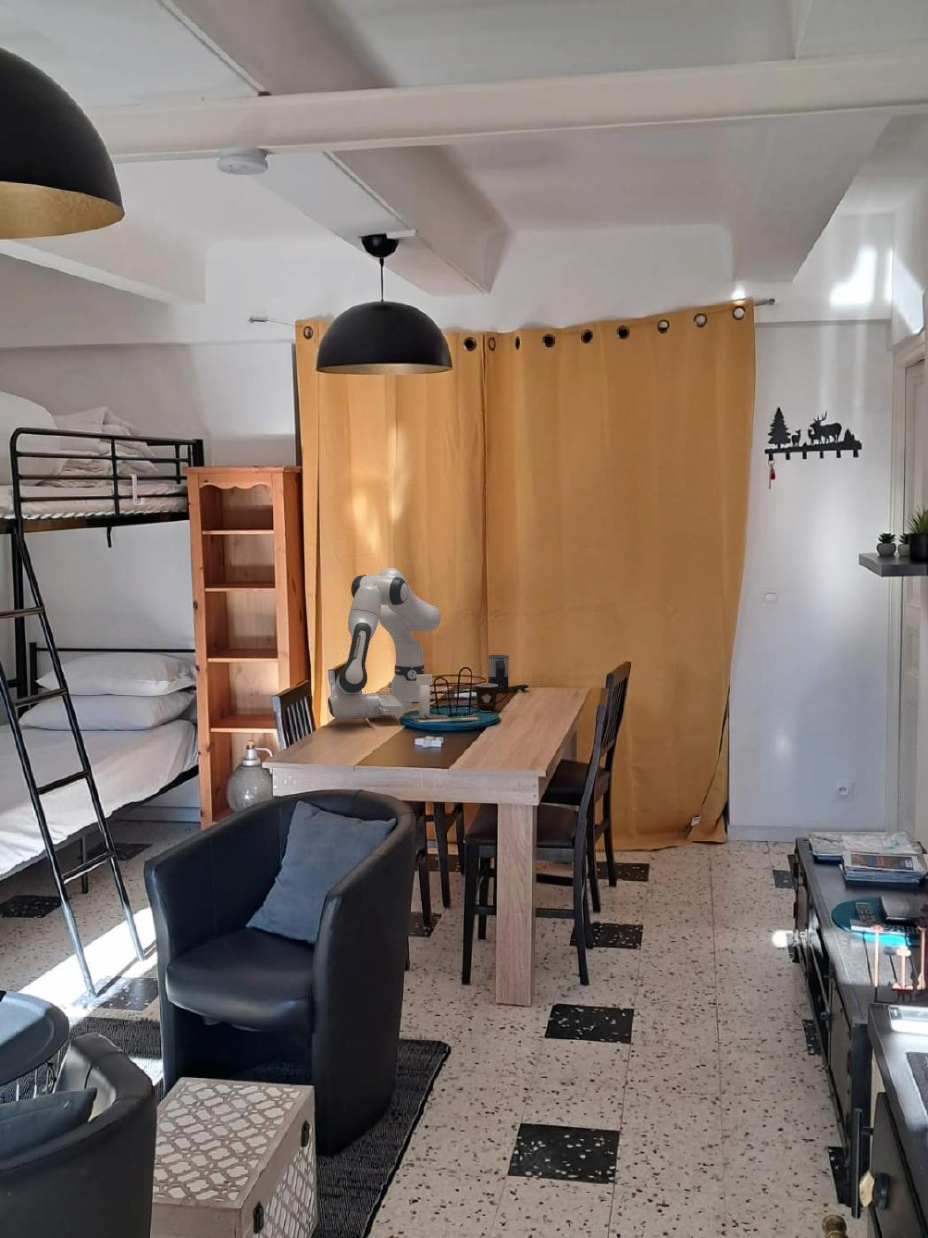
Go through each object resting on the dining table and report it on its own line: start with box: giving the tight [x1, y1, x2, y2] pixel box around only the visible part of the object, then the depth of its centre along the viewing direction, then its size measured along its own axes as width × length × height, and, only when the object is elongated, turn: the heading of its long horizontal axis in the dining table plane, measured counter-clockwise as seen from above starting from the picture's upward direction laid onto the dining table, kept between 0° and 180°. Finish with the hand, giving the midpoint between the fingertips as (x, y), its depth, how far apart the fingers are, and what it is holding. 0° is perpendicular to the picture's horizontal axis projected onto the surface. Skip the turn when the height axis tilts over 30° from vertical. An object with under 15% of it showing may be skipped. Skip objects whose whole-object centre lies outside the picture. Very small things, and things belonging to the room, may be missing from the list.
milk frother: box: [487, 654, 529, 693], centre depth 507 cm, size 14×16×15 cm
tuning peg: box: [416, 674, 433, 718], centre depth 436 cm, size 8×6×16 cm
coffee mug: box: [475, 682, 508, 713], centre depth 461 cm, size 12×9×10 cm
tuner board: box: [410, 713, 482, 723], centre depth 440 cm, size 12×24×2 cm, turn 103°
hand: (411, 704), depth 437 cm, fingers closed
